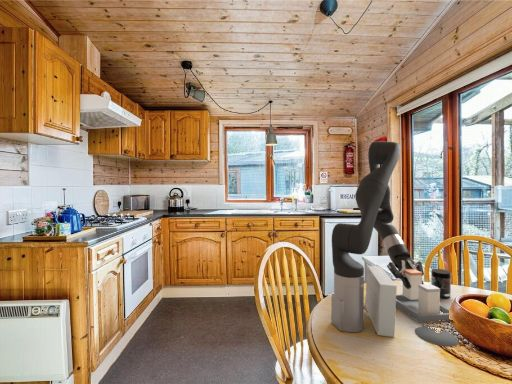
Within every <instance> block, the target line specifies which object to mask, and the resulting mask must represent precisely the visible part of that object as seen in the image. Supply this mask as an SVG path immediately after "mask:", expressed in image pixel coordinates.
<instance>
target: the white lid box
mask: <svg viewBox="0 0 512 384" xmlns="http://www.w3.org/2000/svg"><path fill="white" fill-rule="evenodd" d="M418 287H419V289H418V313H420V314H421V315H429V314H440V305H441V303H440V302H441V298H440V288H438V287H436V286H434V285H431V283H424V284H419V285H418Z"/></svg>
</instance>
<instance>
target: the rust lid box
mask: <svg viewBox="0 0 512 384" xmlns="http://www.w3.org/2000/svg"><path fill="white" fill-rule="evenodd" d="M404 272H405V274H406V277H407V279H408V281H409V283H410V285H411V288H410V289H407V288H406V287H405V286H404V284H403V283H402V295H403V296H405V297H407V298H408V299H410V300H416V299H418V289H419V287H418V285H419V284H422V281H423V276H422V272H420V271H417V270H414V269H406V270H404Z"/></svg>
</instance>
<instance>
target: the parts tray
mask: <svg viewBox="0 0 512 384" xmlns="http://www.w3.org/2000/svg"><path fill="white" fill-rule="evenodd" d="M396 307H397V308H398V309H400V311H402V312H404V313H405V314H407V315H408V316H410V318H412V319H414V320H415V321H416V322H418V323H419V324H423V323H432V322H431V321H438V322H440V321H439V320H450V319H449V310H451V309H449V308H447V307H446V306H444V305H442V304H440V311H441V312H443V313H444V314H429V315H421V314H420V313H418V299H416V300H410V299H408V298H407V297H405V296H403V295H402V294H396Z"/></svg>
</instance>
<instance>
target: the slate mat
mask: <svg viewBox="0 0 512 384" xmlns="http://www.w3.org/2000/svg"><path fill="white" fill-rule="evenodd" d="M428 326H429V325H425V326H424V325H421V326H418V327H416V328H415V329H414V333H415V335H416V336H417V337H418V338H419V339H421V340H422V341H424V342H427V343H429V344H431V345H436V346H438V347H439V346H441V347H447V348H448V347H455V346H457V345H458V344H459V339H458V337H457V336H456V335H454V334H453V333H451V332H450V333H451V334H450V333H449V331H448V332H445V331H446V330H445V331H444V332H443V331H442V332H441V331H440V333H436V332H437V331H436V330H437V329H436V330H435V328H434V329H433V328H432V329H431V328H430V327H431V326H429V328H428ZM429 329H430V330H429ZM435 331H436V332H435Z"/></svg>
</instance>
